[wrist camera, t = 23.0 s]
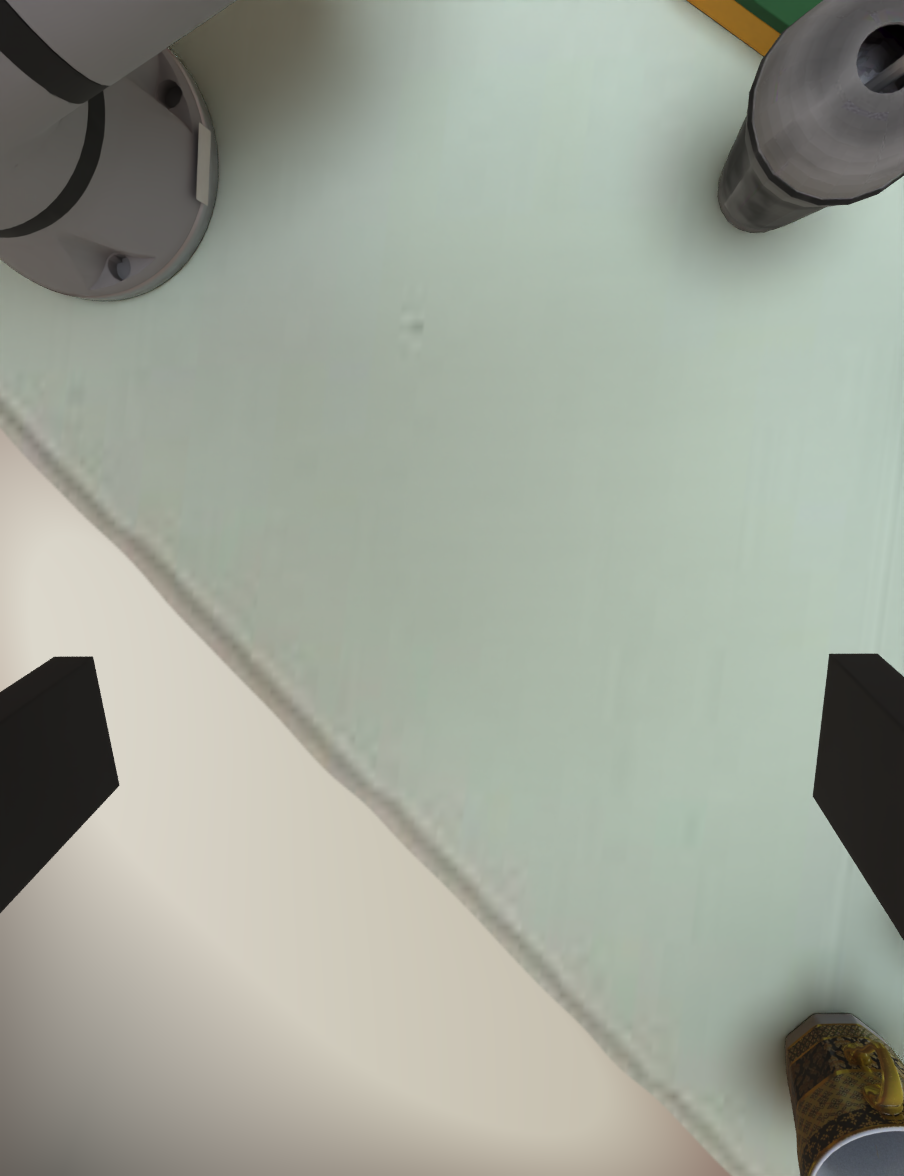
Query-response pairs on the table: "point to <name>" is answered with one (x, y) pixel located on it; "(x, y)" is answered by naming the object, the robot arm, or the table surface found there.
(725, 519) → the table surface
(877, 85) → the beverage cup
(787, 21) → the sponge
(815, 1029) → the ceramic cup
